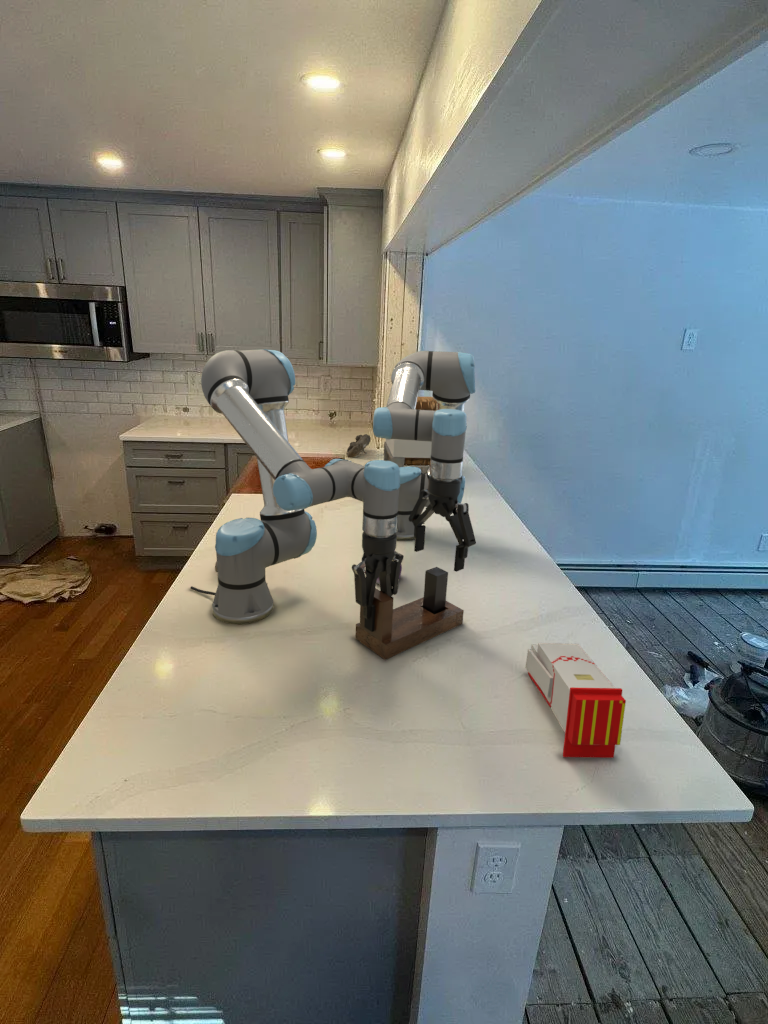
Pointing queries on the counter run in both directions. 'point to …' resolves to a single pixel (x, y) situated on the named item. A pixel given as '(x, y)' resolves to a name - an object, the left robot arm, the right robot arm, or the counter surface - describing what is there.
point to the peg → (435, 590)
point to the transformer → (411, 443)
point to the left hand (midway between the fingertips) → (375, 626)
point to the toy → (578, 698)
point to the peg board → (404, 625)
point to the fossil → (358, 445)
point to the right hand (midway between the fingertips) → (438, 559)
